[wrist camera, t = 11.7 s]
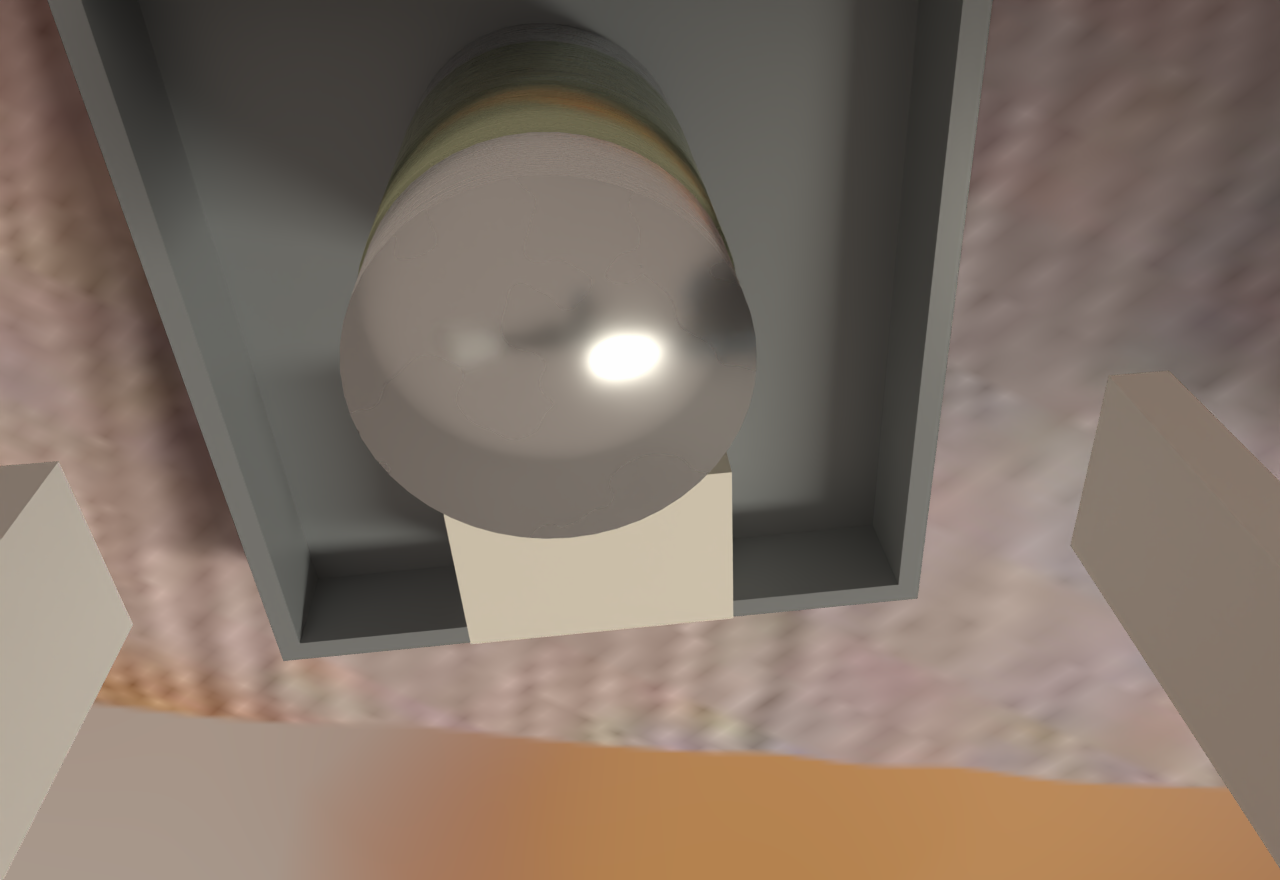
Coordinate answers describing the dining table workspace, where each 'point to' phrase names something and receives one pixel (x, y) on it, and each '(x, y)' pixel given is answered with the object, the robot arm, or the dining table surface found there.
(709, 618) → the cream rectangular block
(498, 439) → the tin can
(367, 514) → the tray
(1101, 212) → the dining table surface
